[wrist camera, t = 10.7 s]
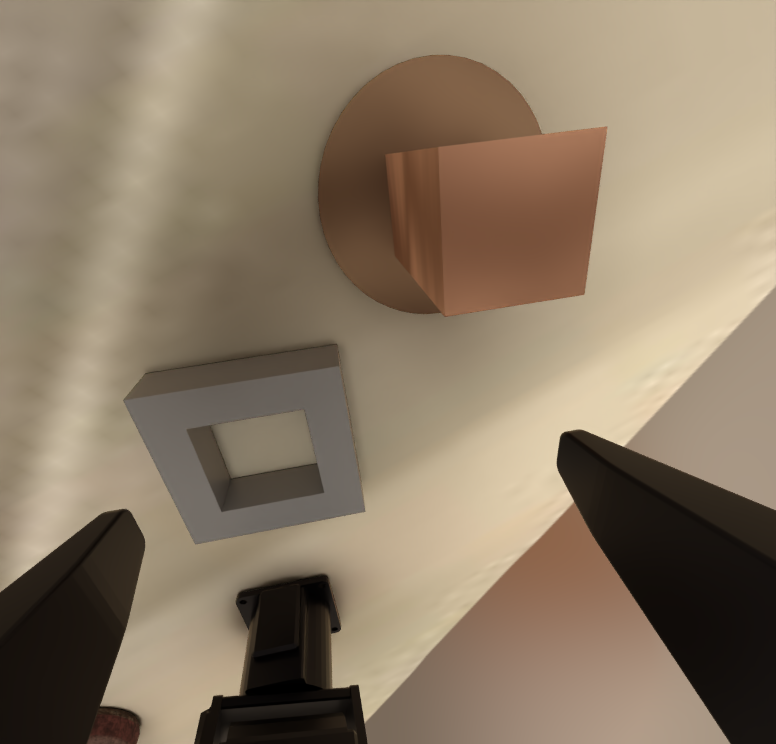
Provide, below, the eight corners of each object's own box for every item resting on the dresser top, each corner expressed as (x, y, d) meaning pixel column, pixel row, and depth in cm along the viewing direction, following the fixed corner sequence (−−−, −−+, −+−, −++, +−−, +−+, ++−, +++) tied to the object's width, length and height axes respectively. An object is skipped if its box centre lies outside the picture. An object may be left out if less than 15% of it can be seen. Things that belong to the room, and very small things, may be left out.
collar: (361, 480, 25) (365, 511, 23) (206, 509, 24) (195, 544, 22) (337, 344, 20) (339, 366, 18) (145, 373, 19) (123, 400, 17)
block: (481, 243, 18) (584, 294, 11) (394, 255, 18) (445, 316, 11) (481, 142, 16) (607, 126, 9) (384, 154, 16) (438, 146, 9)
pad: (528, 292, 21) (538, 298, 20) (338, 320, 20) (338, 328, 19) (546, 50, 16) (560, 43, 15) (295, 73, 15) (294, 67, 14)
